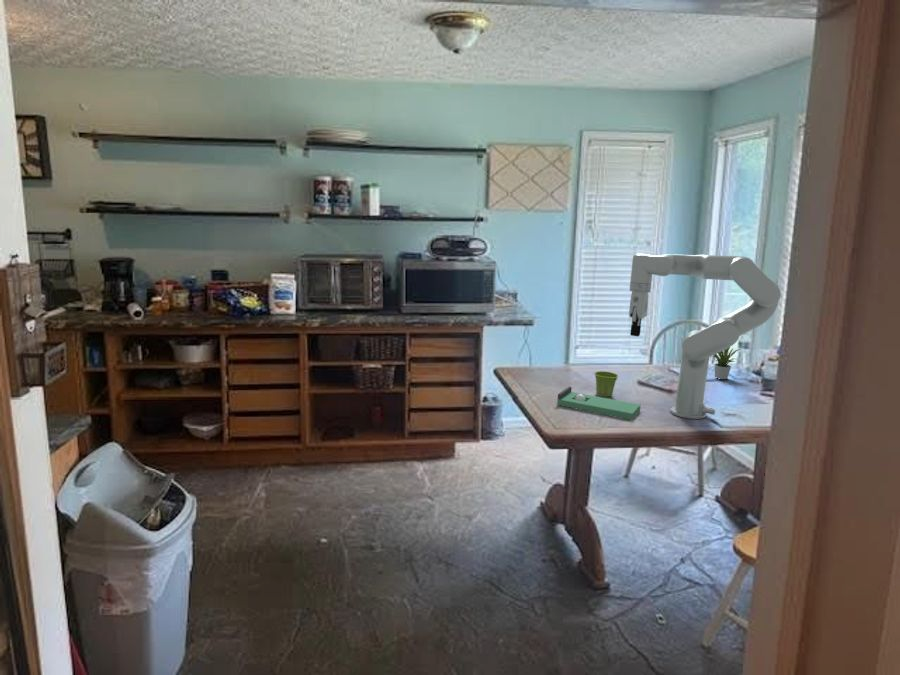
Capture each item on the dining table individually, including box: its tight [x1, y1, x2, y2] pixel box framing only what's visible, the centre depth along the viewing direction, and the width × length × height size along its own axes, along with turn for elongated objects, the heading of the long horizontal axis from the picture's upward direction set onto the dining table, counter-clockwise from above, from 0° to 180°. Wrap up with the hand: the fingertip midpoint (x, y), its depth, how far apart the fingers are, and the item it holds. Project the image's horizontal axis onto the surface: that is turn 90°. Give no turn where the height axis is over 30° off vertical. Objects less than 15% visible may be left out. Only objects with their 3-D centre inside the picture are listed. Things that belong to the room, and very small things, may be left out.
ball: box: [575, 393, 585, 401], centre depth 248 cm, size 4×4×4 cm
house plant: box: [709, 347, 741, 380], centre depth 298 cm, size 14×14×16 cm
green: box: [556, 386, 641, 421], centre depth 244 cm, size 28×13×4 cm, turn 61°
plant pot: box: [593, 370, 619, 398], centre depth 262 cm, size 9×9×9 cm
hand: (634, 335), depth 246 cm, fingers closed
